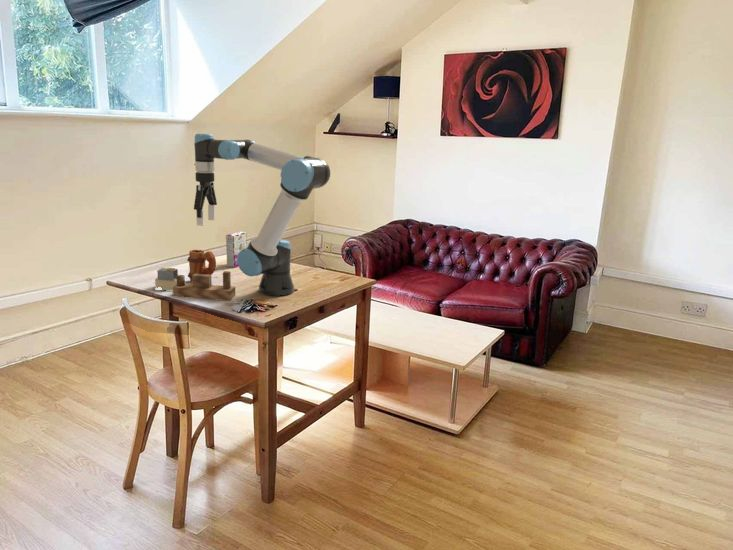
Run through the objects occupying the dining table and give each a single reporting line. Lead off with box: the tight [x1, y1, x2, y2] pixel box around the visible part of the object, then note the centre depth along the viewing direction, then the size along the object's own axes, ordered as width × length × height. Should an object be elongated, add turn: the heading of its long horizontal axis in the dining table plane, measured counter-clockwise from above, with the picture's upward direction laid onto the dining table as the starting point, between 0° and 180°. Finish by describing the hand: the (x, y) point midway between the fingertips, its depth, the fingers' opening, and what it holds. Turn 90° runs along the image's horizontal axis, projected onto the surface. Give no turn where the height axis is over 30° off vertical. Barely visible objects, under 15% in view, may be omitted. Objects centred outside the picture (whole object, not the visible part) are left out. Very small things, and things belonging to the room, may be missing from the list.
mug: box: [187, 249, 217, 283], centre depth 253 cm, size 15×8×15 cm, turn 62°
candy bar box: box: [225, 231, 248, 269], centre depth 286 cm, size 11×5×16 cm, turn 157°
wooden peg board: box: [172, 270, 237, 302], centre depth 235 cm, size 24×7×11 cm, turn 85°
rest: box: [154, 277, 177, 292], centre depth 245 cm, size 10×10×4 cm
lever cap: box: [156, 267, 179, 281], centre depth 243 cm, size 7×4×5 cm, turn 85°
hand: (206, 222), depth 240 cm, fingers open, 13 cm apart
